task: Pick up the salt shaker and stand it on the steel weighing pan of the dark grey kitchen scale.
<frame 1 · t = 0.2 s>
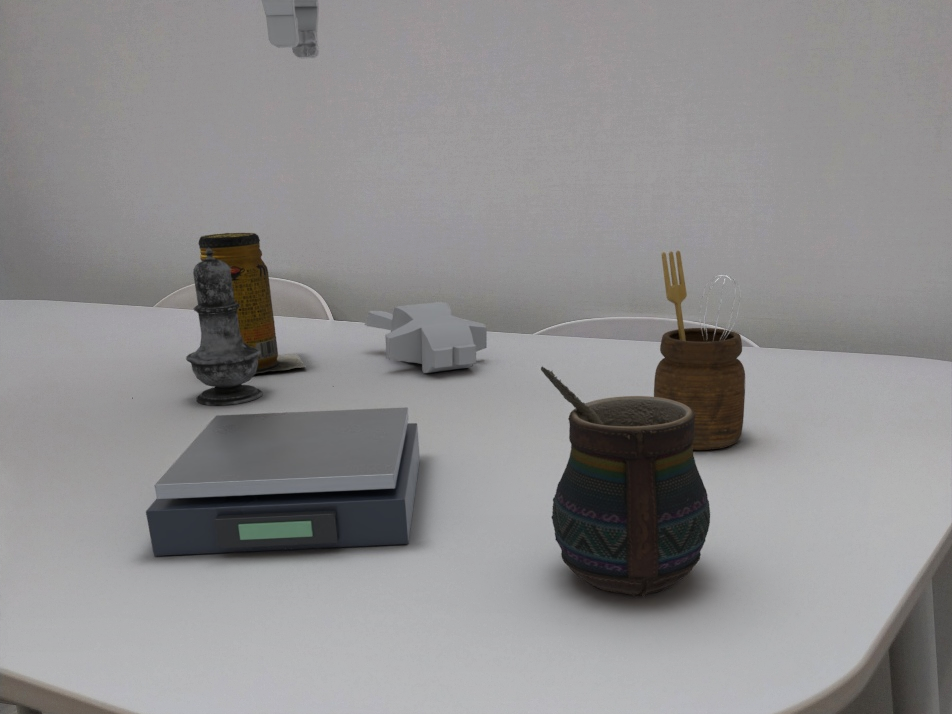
hand: (296, 52, 68), 25 cm above the table, tool pointing down, fingers open, 8 cm apart
scale pan: (296, 448, 55), point 3 cm above the table, slide at 0.1 cm
salt shaker: (230, 399, 80), on the table
mate gourd: (626, 579, 46), on the table
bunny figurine: (428, 362, 91), on the table
condiment: (256, 369, 90), on the table
scale: (302, 502, 56), on the table
utensil holder: (695, 440, 65), on the table
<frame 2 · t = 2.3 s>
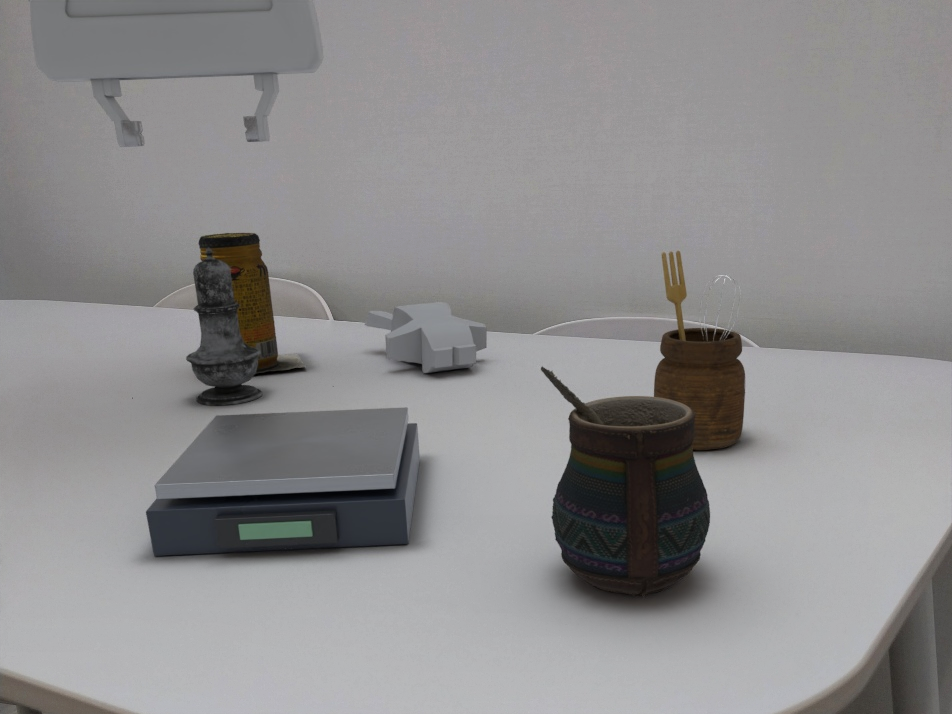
hand: (195, 144, 73), 20 cm above the table, tool pointing down, fingers open, 8 cm apart
nothing on the table moved.
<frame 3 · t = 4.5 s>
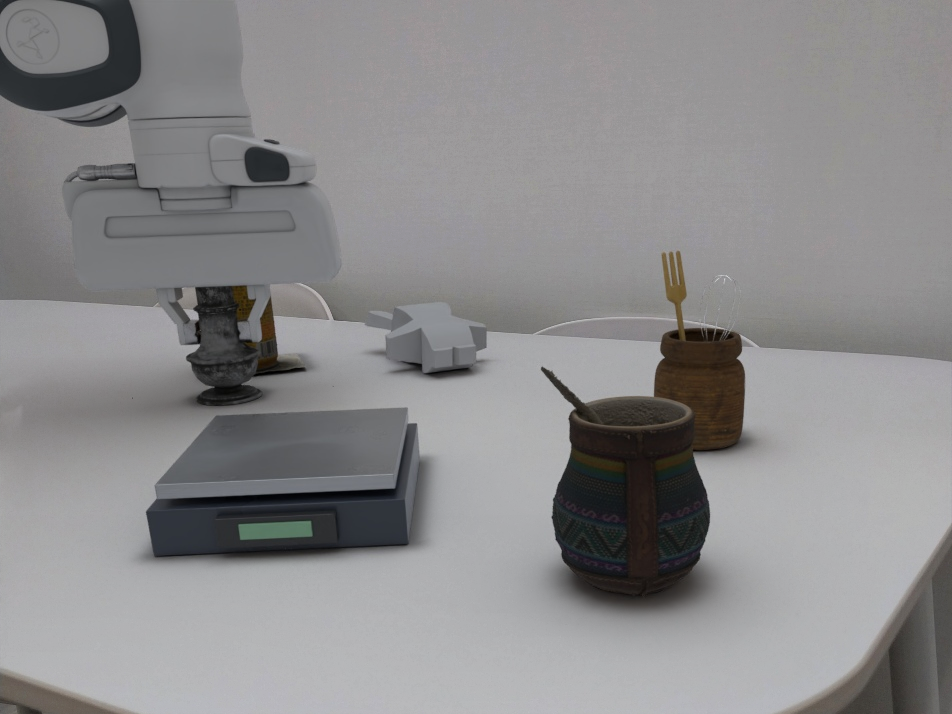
hand: (222, 342, 78), 5 cm above the table, tool pointing down, fingers closed on salt shaker, 3 cm apart
salt shaker: (229, 399, 80), on the table, touching gripper
everything else where it was.
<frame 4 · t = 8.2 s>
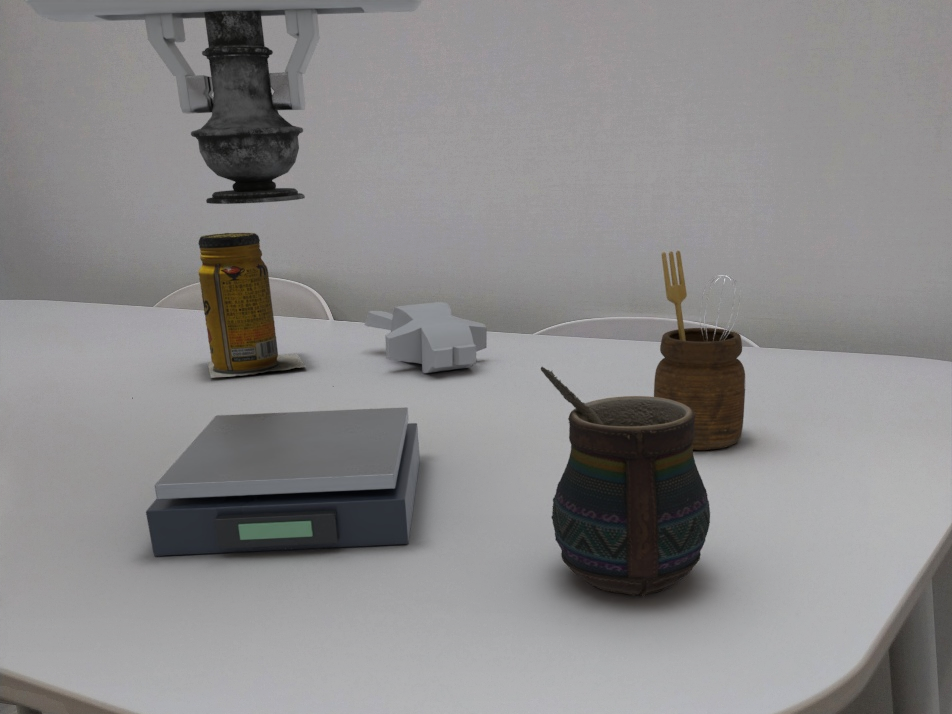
hand: (245, 111, 52), 21 cm above the table, tool pointing down, fingers closed on salt shaker, 3 cm apart
salt shaker: (256, 203, 53), point 16 cm above the table, touching gripper
everything else where it was.
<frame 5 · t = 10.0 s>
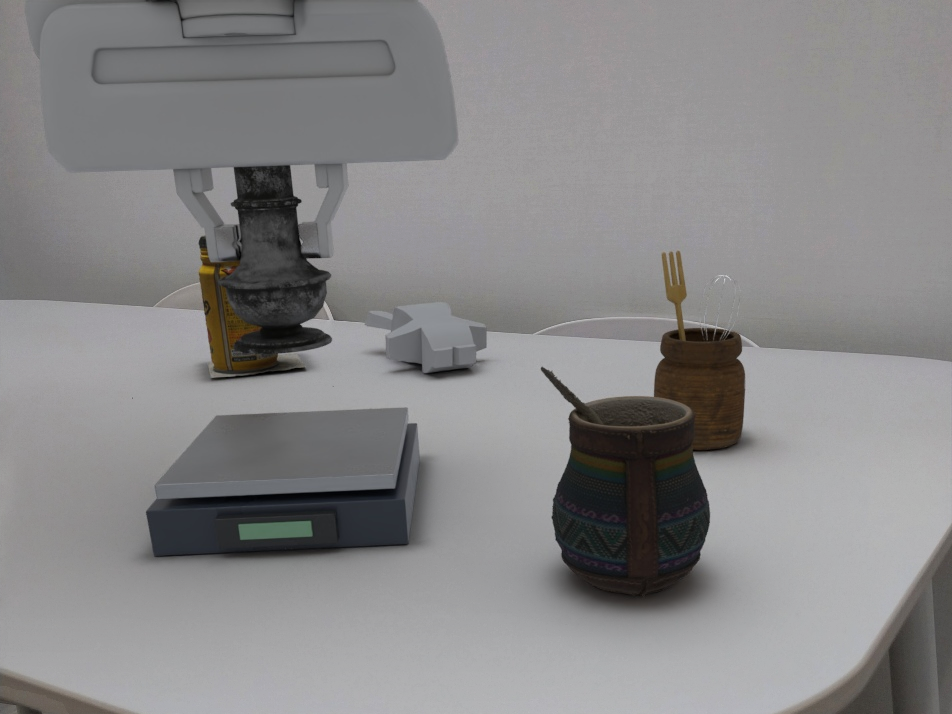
hand: (273, 259, 51), 14 cm above the table, tool pointing down, fingers closed on salt shaker, 3 cm apart
salt shaker: (283, 347, 53), point 9 cm above the table, touching gripper
everything else where it was.
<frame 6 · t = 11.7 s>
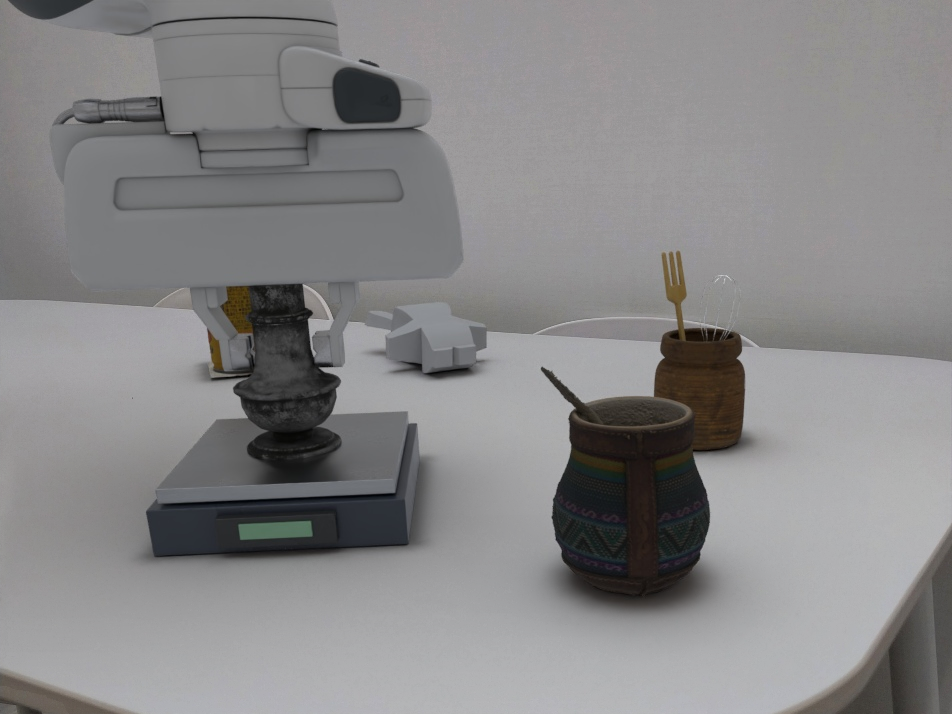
hand: (285, 367, 53), 8 cm above the table, tool pointing down, fingers closed on salt shaker, 3 cm apart
scale pan: (296, 452, 55), point 3 cm above the table, slide at -0.2 cm, touching salt shaker
salt shaker: (294, 448, 55), point 3 cm above the table, touching gripper, scale pan
everything else where it was.
when the fingers open (8 cm above the table, at t = 11.7 s): salt shaker stays where it is, resting on scale pan.
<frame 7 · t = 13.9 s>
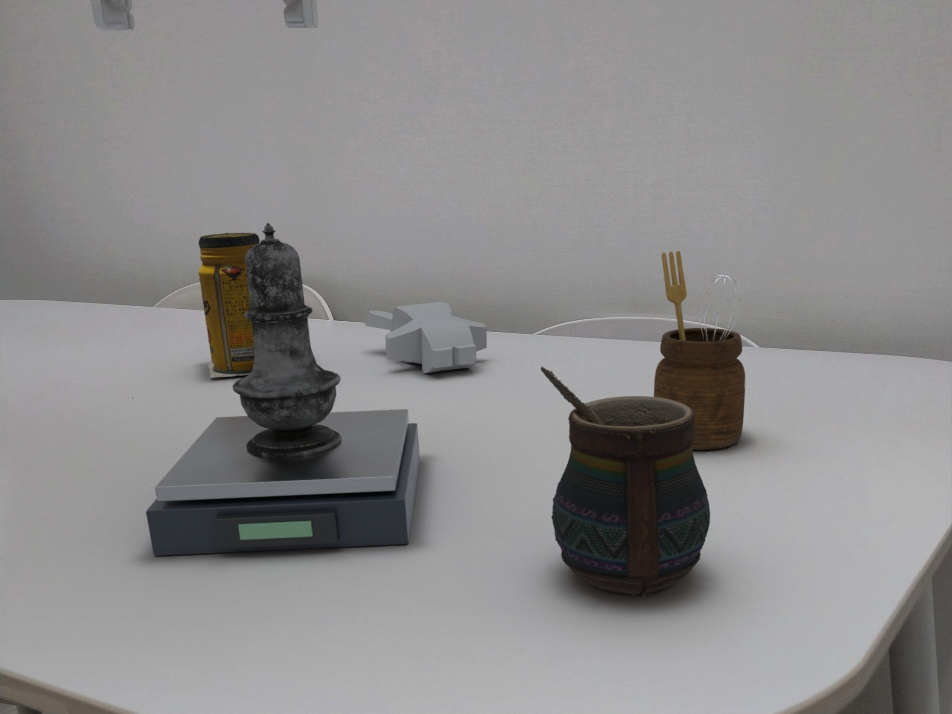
hand: (209, 28, 49), 25 cm above the table, tool pointing down, fingers open, 8 cm apart
salt shaker: (294, 446, 55), point 3 cm above the table, touching scale pan
everything else where it was.
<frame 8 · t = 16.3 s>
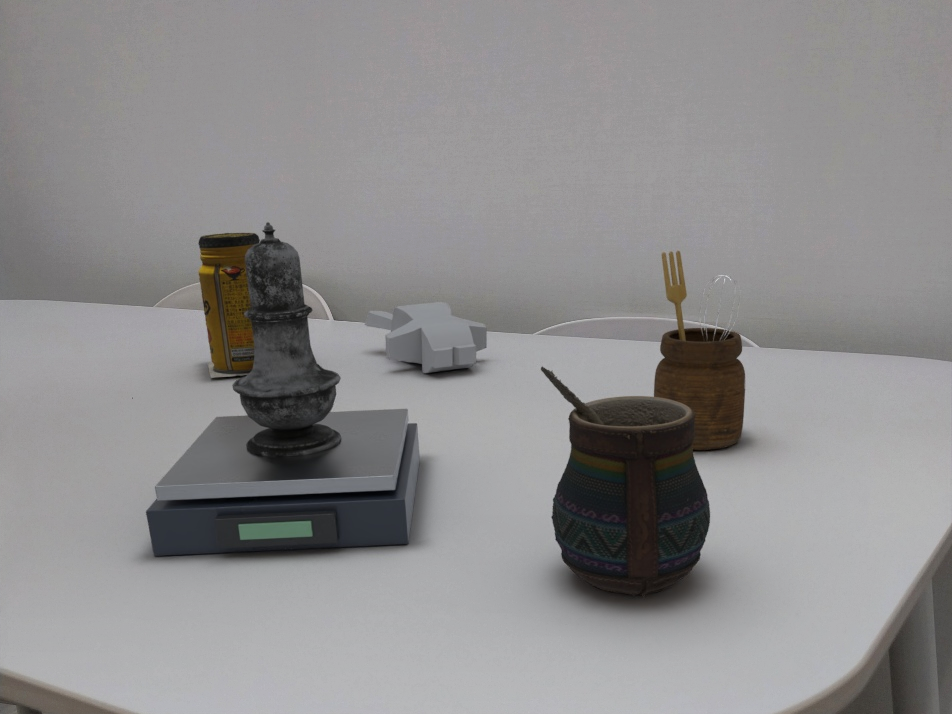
nothing on the table moved.
at the end: salt shaker inside the target area on the scale (0.1 cm from its centre), point 3.4 cm above the scale's base; salt shaker tilted 0°; salt shaker touching scale pan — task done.
